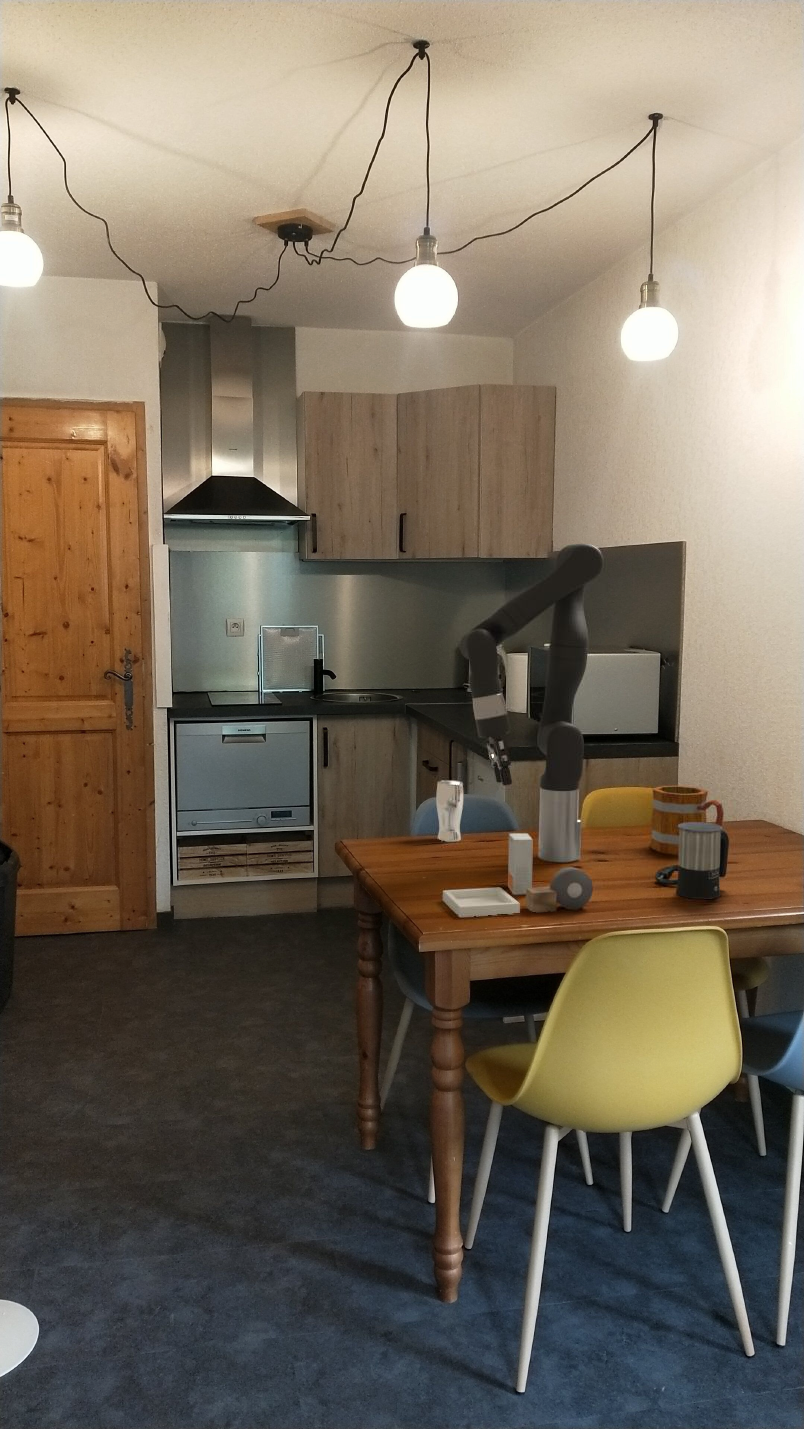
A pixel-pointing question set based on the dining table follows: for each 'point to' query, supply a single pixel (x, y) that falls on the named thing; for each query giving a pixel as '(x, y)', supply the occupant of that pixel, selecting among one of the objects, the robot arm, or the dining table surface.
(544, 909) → the walnut block
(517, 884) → the skincare box
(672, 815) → the mug
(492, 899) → the tray
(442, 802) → the beer glass
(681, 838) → the milk frother
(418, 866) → the dining table surface
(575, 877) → the trolley wheel
